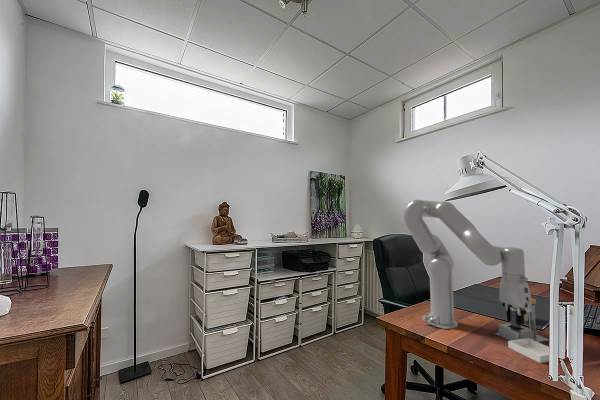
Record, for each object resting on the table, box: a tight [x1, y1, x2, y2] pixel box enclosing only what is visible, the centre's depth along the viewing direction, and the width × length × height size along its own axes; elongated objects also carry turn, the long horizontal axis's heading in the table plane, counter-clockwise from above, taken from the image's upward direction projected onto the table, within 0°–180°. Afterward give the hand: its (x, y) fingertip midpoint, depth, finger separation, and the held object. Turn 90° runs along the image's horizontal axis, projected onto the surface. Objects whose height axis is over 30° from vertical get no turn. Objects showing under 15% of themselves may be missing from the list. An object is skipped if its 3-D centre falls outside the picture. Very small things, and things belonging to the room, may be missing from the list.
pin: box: [509, 306, 522, 330], centre depth 109 cm, size 3×3×12 cm
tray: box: [507, 338, 550, 364], centre depth 97 cm, size 10×11×3 cm
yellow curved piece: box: [531, 297, 537, 305], centre depth 117 cm, size 14×3×2 cm, turn 158°
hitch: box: [494, 304, 550, 343], centre depth 110 cm, size 16×10×14 cm, turn 103°
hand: (515, 322), depth 109 cm, fingers closed on pin, 3 cm apart
